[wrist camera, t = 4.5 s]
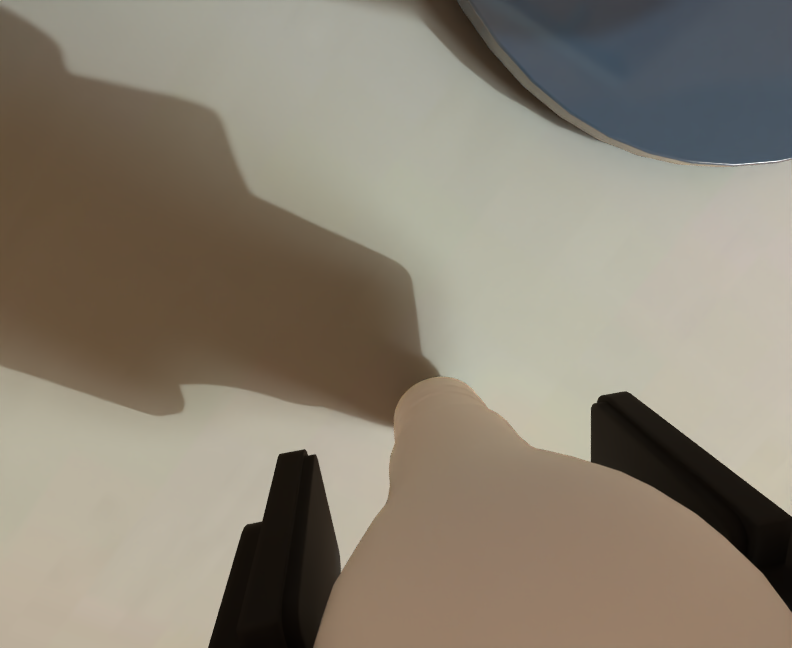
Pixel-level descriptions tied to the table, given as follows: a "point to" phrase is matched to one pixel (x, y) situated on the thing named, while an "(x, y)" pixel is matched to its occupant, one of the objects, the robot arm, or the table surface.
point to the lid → (655, 72)
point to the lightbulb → (534, 550)
